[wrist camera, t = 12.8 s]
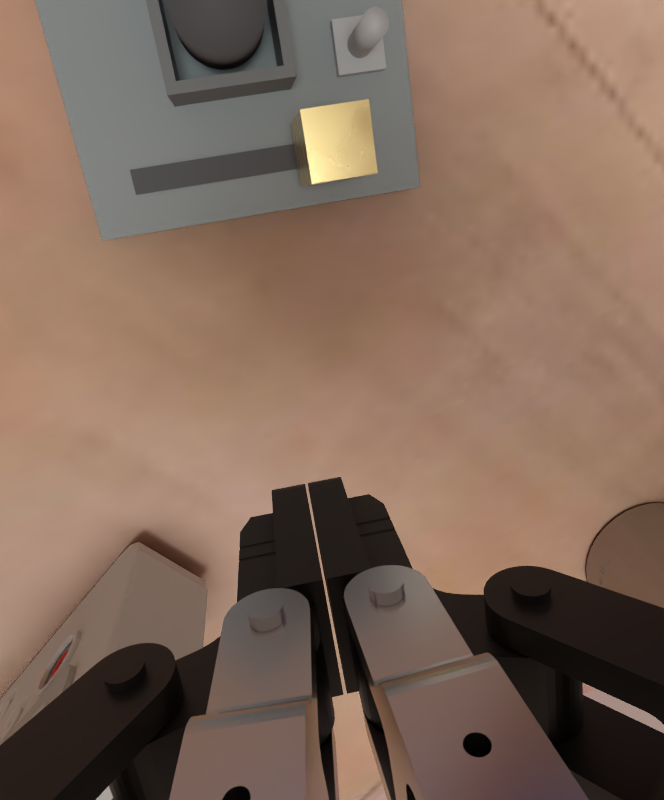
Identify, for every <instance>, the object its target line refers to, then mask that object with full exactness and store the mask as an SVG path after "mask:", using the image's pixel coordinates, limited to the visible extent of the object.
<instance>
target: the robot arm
mask: <svg viewBox="0 0 664 800" xmlns="http://www.w3.org/2000/svg"><path fill="white" fill-rule="evenodd" d="M308 487H309V493H310V499H311V504H312V510H313V515H314V521H315V527H316V532H317V538H318V543H319V549H320V554H321V560H322V565H323V571H324V576H325V581H326V586H327V591H328V597H329V602H330V607H331V612H332V617H333V623H334V628H335V633H336V638H337V643H338V649H339V654H340V659H341V664H342V669H343V675H344V680H345V685H346V690H347V693H352V692H356V691H359V694H360V698H361V703H362V707H363V713H364V719H365V725H366V731H367V735H368V738H369V742H370V745H371V748H372V751H373V755H374V758H375V761H376V764H377V767H378V771H379V774H380V777H381V780H382V784H383V787H384V790H385V793H386V796H387V800H664V734H663V733H662V732H659V731H657V730H655V729H653V728H651V727H649V726H647V725H645V724H643V723H641V722H639V721H636V720H634V719H632V718H630V717H628V716H626V715H624V714H622V713H620V712H618V711H615V710H613V709H611V708H609V707H607V706H605V705H603V704H600V703H599V702H596V701H594V700H592V699H590V698H588V697H586V696H584V695H583V690H582V682H583V683H585V684H587V685H589V686H592V687H594V688H596V689H598V690H600V691H603V692H605V693H607V694H609V695H611V696H613V697H616V698H618V699H620V700H622V701H624V702H626V703H629V704H631V705H633V706H636V707H637V708H639V709H642V710H644V711H646V712H648V713H650V714H651V715H653V716H654V717H656V718H657V719H658V720H660V721H661V722H662V723H663V724H664V503H650V504H646V505H641V506H637V507H635V508H633V509H630V510H628V511H626V512H624V513H623V514H621V515H619V516H618V517H616V518H615V519H614V520H613V521H611V522H610V523H609V524H608V525H607V526H606V527H605V528H604V529H603V530H602V532H601V533H600V534H599V535H598V537H597V538H596V540H595V542H594V543H593V545H592V547H591V549H590V552H589V555H588V558H587V565H586V574H587V581H588V582H586V581H583V580H580V579H577V578H574V577H571V576H568V575H565V574H562V573H559V572H556V571H553V570H550V569H546V568H542V567H535V566H518V567H512V568H508V569H505V570H502V571H500V572H498V573H496V574H494V575H493V576H492V577H491V578H490V579H489V580H488V581H487V582H486V585H485V587H484V595H462V594H451V593H445V592H442V591H438V590H436V589H433V588H432V587H431V585H430V584H429V582H428V580H427V579H426V578H425V577H424V576H423V575H422V574H421V573H420V572H418V571H416V570H414V569H413V568H412V566H411V564H410V562H409V559H408V557H407V555H406V553H405V550H404V548H403V546H402V544H401V542H400V539H399V537H398V535H397V533H396V531H395V528H394V526H393V524H392V521H391V520H390V517H389V515H388V512H387V510H386V508H385V506H384V504H383V503H382V502H380V501H378V500H377V499H375V498H374V497H372V496H371V495H369V494H368V495H363V496H358V497H353V498H347V495H346V492H345V489H344V486H343V482H342V479H341V477H338V478H332V479H327V480H322V481H317V482H312V483H308ZM272 503H273V513H271V514H266V515H261V516H256V517H251V518H250V519H249V521H248V522H247V524H246V525H245V526H244V528H243V529H242V531H241V532H240V551H239V561H240V562H239V572H238V593H237V603H236V604H235V605H234V606H233V607H232V608H231V609H230V610H229V611H228V613H227V614H226V616H225V619H224V622H223V626H222V632H221V636H220V637H219V638H217V639H216V640H215V641H213V642H212V643H210V644H209V645H207V646H205V647H203V648H201V649H199V650H197V651H195V652H193V653H191V654H188V655H186V656H184V657H182V658H180V659H177V660H175V657H174V655H173V653H172V651H171V650H170V649H168V648H167V647H165V646H163V645H161V644H157V643H140V644H134V645H131V646H127V647H125V648H122V649H119V650H117V651H115V652H113V653H111V654H110V655H108V656H106V657H105V658H103V659H102V660H101V661H99V662H98V663H97V664H95V665H94V666H93V667H92V668H91V669H89V670H88V671H87V672H86V673H85V674H84V675H82V676H81V677H80V678H79V679H78V680H76V681H75V682H74V683H73V684H72V685H71V686H69V687H68V688H67V689H66V690H65V691H64V692H62V693H61V694H60V695H59V696H58V697H56V698H55V699H54V700H53V701H52V702H51V703H49V704H48V705H47V706H46V707H45V708H43V709H42V710H41V711H40V712H39V713H38V714H36V715H35V716H34V717H33V718H32V719H31V720H29V721H28V722H27V723H26V724H25V725H23V726H22V727H21V728H20V729H19V730H18V731H16V732H15V733H14V734H13V735H12V736H10V737H9V738H8V739H7V740H6V741H5V742H3V743H2V744H1V745H0V800H96V799H97V798H98V797H99V796H100V795H101V794H102V792H103V791H104V790H105V789H106V788H107V787H108V786H109V788H110V791H111V793H112V796H113V798H112V800H339V788H338V773H337V757H336V742H335V736H334V731H333V725H334V719H335V717H334V708H333V701H332V697H335V696H339V695H343V690H342V685H341V679H340V673H339V668H338V662H337V657H336V651H335V646H334V640H333V635H332V629H331V624H330V618H329V613H328V607H327V602H326V596H325V590H324V585H323V579H322V574H321V569H320V563H319V558H318V552H317V547H316V542H315V536H314V531H313V525H312V520H311V514H310V509H309V504H308V498H307V493H306V487H305V484H302V485H296V486H291V487H286V488H281V489H276V490H272Z"/></svg>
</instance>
